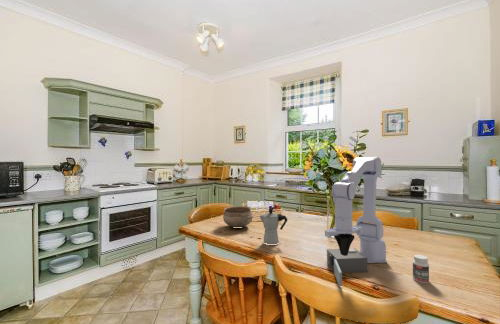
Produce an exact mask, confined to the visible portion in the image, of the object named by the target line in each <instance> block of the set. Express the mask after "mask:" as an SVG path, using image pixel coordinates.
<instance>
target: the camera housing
mask: <svg viewBox="0 0 500 324" xmlns="http://www.w3.org/2000/svg"><path fill="white" fill-rule="evenodd" d="M334 259H336V260H337V263H338V265H339V267H340V270H341V272H343V273H366V272H368V269H369V268H368V263H367V257H366V256H364V255H363V254H362V253H360V251H359V250H358V249H356V248H353V247H352V248H349V251H348V255H347V256H343V255H342V254H341V253H340V249H339V248H329V249H328V248H327V249H326V262H327V264H328V265H329V267H331V266H332V267H331V268H332V270H334ZM343 273H342V274H343Z"/></svg>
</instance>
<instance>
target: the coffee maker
mask: <svg viewBox="0 0 500 324" xmlns="http://www.w3.org/2000/svg"><path fill="white" fill-rule="evenodd" d="M273 212H274V208H268V213H264V214H263V215H259V216H258V217H259V218H260V220H261V222H262V224H263V227H264V236H263V242H264V243H267V244H277V243H279V244H280V240H279V235H278V228H279V229H280V230H281V231H282V230H283V228H284V227H285V225H286V224H287V222H288V218H287V216H285V215H282V214H281V213H278V214H277V213H273ZM283 220H284V221H283ZM280 221H283V223H282V224H281V226H280V227H279V222H280ZM263 242H262V243H263Z"/></svg>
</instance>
